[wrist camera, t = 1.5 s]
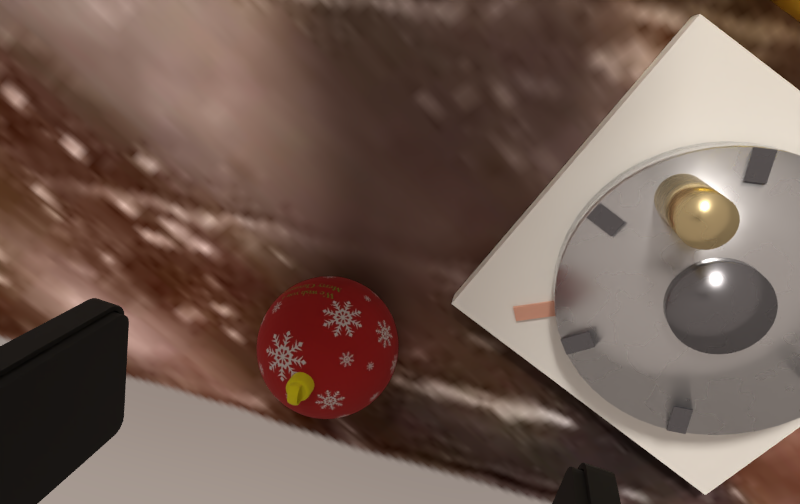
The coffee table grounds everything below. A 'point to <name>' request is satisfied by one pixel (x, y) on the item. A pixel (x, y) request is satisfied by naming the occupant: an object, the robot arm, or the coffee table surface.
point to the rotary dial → (689, 289)
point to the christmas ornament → (327, 347)
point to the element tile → (789, 7)
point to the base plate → (594, 168)
